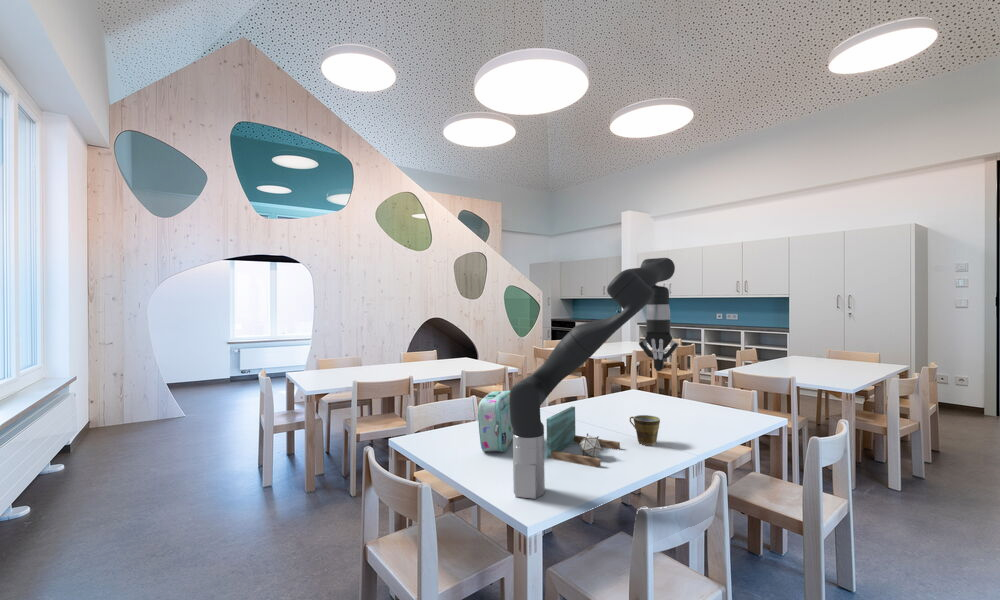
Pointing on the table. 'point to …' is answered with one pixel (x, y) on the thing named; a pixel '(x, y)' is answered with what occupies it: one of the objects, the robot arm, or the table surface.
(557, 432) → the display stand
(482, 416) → the lunch box
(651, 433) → the ceramic cup
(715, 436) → the table surface
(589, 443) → the game die
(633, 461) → the table surface
